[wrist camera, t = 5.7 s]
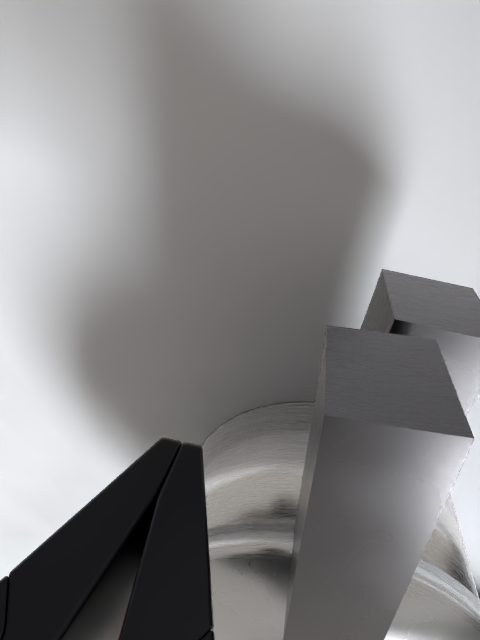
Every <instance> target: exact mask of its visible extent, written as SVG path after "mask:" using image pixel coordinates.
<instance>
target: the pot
mask: <svg viewBox="0 0 480 640" xmlns="http://www.w3.org/2000/svg"><path fill="white" fill-rule="evenodd" d="M360 330H367V331H375V332H383V333H391V334H399V335H407V336H415V337H423V338H431V339H436V341H437V343H438V346H439V348H440V351H441V354H442V356H443V359H444V361H445V364H446V367H447V369H448V372H449V374H450V377H451V380H452V382H453V385H454V387H455V390H456V392H457V395H458V398H459V400H460V403H461V405H462V408H463V411H464V413H465V416H466V415H467V413H468V412H469V410H470V408H471V407H472V405H473V403H474V402H475V400H476V398H477V397H478V395H479V393H480V299H479V297H478V296H477V294H476V293H475V291H474V290H473V288H469V287H464V286H459V285H455V284H450V283H445V282H441V281H436V280H431V279H427V278H422V277H417V276H413V275H408V274H403V273H398V272H394V271H389V270H384V269H382V271H381V274H380V277H379V279H378V282H377V285H376V288H375V290H374V293H373V296H372V299H371V301H370V304H369V307H368V310H367V313H366V315H365V318H364V321H363V324H362V326H361V329H360ZM313 408H314V402H290V403H281V404H273V405H269V406H264V407H260V408H256V409H253V410H250V411H247V412H244V413H242V414H240V415H238V416H236V417H234V418H232V419H230V420H228V421H227V422H225V423H224V424H222V425H221V426H220V427H218V428H217V429H216V430H215V431H214V432H213V433H212V434H211V435H210V436H209V437H208V438H207V440H206V441H205V442H204V444H203V445H202V449H203V463H204V478H205V494H206V509H207V525H208V529H212V528H217V527H221V526H227V525H236V524H246V523H284V524H295V519H296V513H297V506H298V500H299V494H300V488H301V482H302V476H303V470H304V463H305V457H306V451H307V445H308V439H309V433H310V426H311V420H312V414H313ZM421 559H422V560H424V561H426V562H428V563H430V564H431V565H433V566H435V567H437V568H439V569H441V570H442V571H444V572H445V573H447V574H448V575H450V576H451V577H453V578H454V579H455V580H457V581H458V582H460V583H461V584H462V585H463V586H465V587H466V588H467V589H468V590H469V591H470V592H472V593H473V594H474V595H475V596H476V597H477V598H478V599H479V596H478V593H477V589H476V585H475V582H474V578H473V574H472V571H471V567H470V564H469V560H468V556H467V553H466V549H465V546H464V542H463V538H462V535H461V531H460V527H459V524H458V520H457V517H456V513H455V509H454V506H453V502H452V499H451V495H450V494H449V496H448V498H447V501H446V503H445V505H444V507H443V510H442V512H441V514H440V516H439V519H438V521H437V523H436V525H435V527H434V530H433V532H432V534H431V536H430V539H429V541H428V543H427V545H426V548H425V550H424V552H423V554H422V556H421Z"/></svg>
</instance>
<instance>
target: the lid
mask: <svg viewBox="0 0 480 640" xmlns="http://www.w3.org/2000/svg"><path fill="white" fill-rule="evenodd" d="M473 440H474V437H473V434H472V431H471V429H470V426H469V424H468V421H467V418H466V416H465V413H464V411H463V408H462V405H461V403H460V400H459V398H458V395H457V392H456V390H455V387H454V385H453V382H452V380H451V377H450V374H449V372H448V369H447V367H446V364H445V361H444V359H443V356H442V354H441V351H440V348H439V346H438V343H437V341H436V339H431V338H423V337H415V336H407V335H399V334H391V333H383V332H375V331H367V330H359V329H351V328H343V327H335V326H327V328H326V334H325V340H324V346H323V353H322V359H321V365H320V371H319V377H318V383H317V390H316V396H315V402H314V408H313V414H312V420H311V426H310V433H309V439H308V445H307V451H306V457H305V463H304V470H303V476H302V482H301V488H300V494H299V500H298V506H297V513H296V519H295V524H284V523H246V524H236V525H227V526H221V527H217V528H212V529H208V540H209V556H210V571H211V587H212V602H213V618H214V630H213V632H214V633H215V640H480V600H479V599H478V598H477V597H476V596H475V595H474V594H473V593H472V592H470V591H469V590H468V589H467V588H466V587H465V586H463V585H462V584H461V583H460V582H458V581H457V580H455V579H454V578H453V577H451V576H450V575H448V574H447V573H445V572H444V571H442V570H441V569H439V568H437V567H435V566H433V565H431V564H430V563H428V562H426V561H424V560H422V559H421V556H422V554H423V552H424V550H425V548H426V545H427V543H428V541H429V539H430V536H431V534H432V532H433V530H434V527H435V525H436V523H437V521H438V519H439V516H440V514H441V512H442V510H443V507H444V505H445V503H446V501H447V498H448V496H449V494H450V492H451V489H452V487H453V485H454V483H455V481H456V478H457V476H458V474H459V472H460V469H461V467H462V465H463V463H464V460H465V458H466V456H467V454H468V452H469V449H470V447H471V445H472V443H473Z"/></svg>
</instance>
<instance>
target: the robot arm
mask: <svg viewBox="0 0 480 640" xmlns="http://www.w3.org/2000/svg"><path fill="white" fill-rule="evenodd" d="M213 630H214V618H213V602H212V587H211V571H210V556H209V540H208V525H207V509H206V494H205V478H204V463H203V449H202V447H201V446H200V445H196V444H191V443H187V442H185V443H183V444H182V443H181V442H180V441H178V440H173V439H169V438H162V439H160V440H159V441H158V442H156V443H155V444H154V445H153V446H152V447H151V448H150V449H149V450H147V451H146V452H145V453H144V454H143V455H142V456H141V457H140V458H138V459H137V460H136V461H135V462H134V463H133V464H132V465H130V466H129V467H128V468H127V469H126V470H125V471H124V472H123V473H121V474H120V475H119V476H118V477H117V478H116V479H115V480H114V481H112V482H111V483H110V484H109V485H108V486H107V487H106V488H105V489H103V490H102V491H101V492H100V493H99V494H98V495H97V496H95V497H94V498H93V499H92V500H91V501H90V502H89V503H88V504H86V505H85V506H84V507H83V508H82V509H81V510H80V511H79V512H77V513H76V514H75V515H74V516H73V517H72V518H71V519H70V520H68V521H67V522H66V523H65V524H64V525H63V526H62V527H60V528H59V529H58V530H57V531H56V532H55V533H54V534H53V535H51V536H50V537H49V538H48V539H47V540H46V541H45V542H44V543H42V544H41V545H40V546H39V547H38V548H37V549H36V550H35V551H33V552H32V553H31V554H30V555H29V556H28V557H27V558H25V559H24V560H23V561H22V562H21V563H20V564H19V565H18V566H16V567H15V568H14V569H13V570H12V571H11V572H10V574H9V577H8V576H5V577H4V578H3V579H1V580H0V640H215V633H214V632H213Z"/></svg>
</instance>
